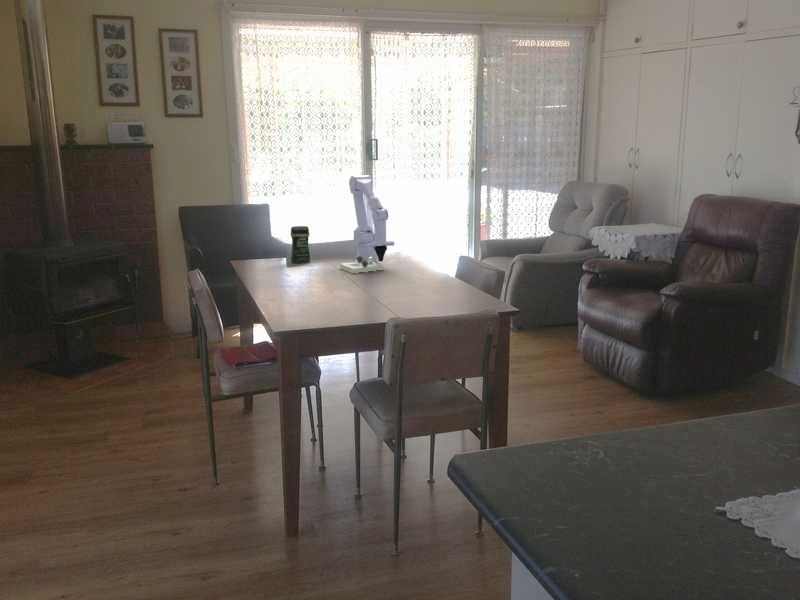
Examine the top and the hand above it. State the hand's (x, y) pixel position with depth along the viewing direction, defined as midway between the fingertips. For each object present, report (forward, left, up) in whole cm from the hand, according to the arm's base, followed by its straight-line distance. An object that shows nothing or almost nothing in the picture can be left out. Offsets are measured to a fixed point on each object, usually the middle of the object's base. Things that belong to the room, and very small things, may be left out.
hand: (380, 261), depth 358 cm
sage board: (+10, 0, -3) cm, 11 cm away
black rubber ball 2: (+11, +6, +1) cm, 13 cm away
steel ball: (+5, 0, +1) cm, 6 cm away
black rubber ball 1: (+8, -6, +1) cm, 10 cm away
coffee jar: (+28, -35, -3) cm, 45 cm away
